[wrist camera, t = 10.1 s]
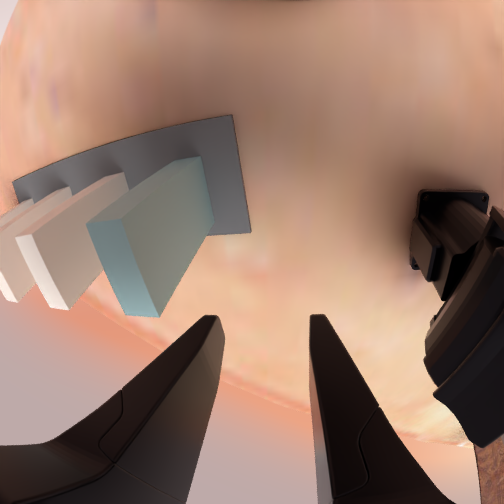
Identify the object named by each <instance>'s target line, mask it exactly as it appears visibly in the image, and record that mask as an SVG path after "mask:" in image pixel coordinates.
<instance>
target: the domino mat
mask: <svg viewBox="0 0 504 504" xmlns="http://www.w3.org/2000/svg"><path fill="white" fill-rule="evenodd" d="M198 156H201V159H202V164H203V169H204V174H205V179H206V184H207V188H208V193H209V198H210V203H211V207H212V212H213V217H214V221H215V223H214V224H213V226H212V227H211V229H210V231H209V232H208V234H207V236H211V235H226V234H242V233H251V225H250V219H249V213H248V207H247V201H246V195H245V189H244V183H243V177H242V171H241V165H240V159H239V153H238V147H237V141H236V135H235V129H234V123H233V117H232V115H227V116H221V117H215V118H210V119H204V120H199V121H194V122H189V123H185V124H180V125H176V126H171V127H167V128H163V129H159V130H155V131H151V132H147V133H143V134H139V135H136V136H132V137H129V138H125V139H122V140H119V141H115V142H112V143H109V144H106V145H103V146H100V147H97V148H94V149H91V150H88V151H85V152H82V153H80V154H77V155H74V156H71V157H69V158H66V159H64V160H61V161H59V162H56V163H54V164H51V165H49V166H46V167H44V168H42V169H39V170H37V171H35V172H32V173H30V174H28V175H26V176H24V177H22V178H19V179H17V180H15V181H13V182H12V183H13V186H14V189H15V192H16V195H17V198H18V201H19V204H20V203H21V202H23V201H25V200H28V199H31V198H32V199H33V202H34V204H35V203H37V202H38V201H40V200H41V199H43V198H44V197H46V196H48V195H49V194H51V193H53V192H54V191H56V190H59V189H62V188H65V187H69V186H70V190H71V193H72V196H74V195H75V194H77V193H78V192H80V191H82V190H83V189H85V188H86V187H88V186H90V185H91V184H93V183H95V182H96V181H98V180H100V179H102V178H103V177H105V176H109V175H113V174H117V173H122V172H124V174H125V178H126V181H127V185H128V188H129V191H130V190H131V189H132V188H134V187H135V186H137V185H138V184H140V183H141V182H142V181H144V180H145V179H147V178H148V177H150V176H151V175H153V174H154V173H156V172H157V171H159V170H160V169H162V168H163V167H165V166H167V165H168V164H170V163H171V162H173V161H174V160H180V159H186V158H192V157H198Z"/></svg>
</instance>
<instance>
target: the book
mask: <svg viewBox="0 0 504 504" xmlns="http://www.w3.org/2000/svg"><path fill="white" fill-rule="evenodd" d="M473 445H474V450H475V456H476V463H477V469H478V477H479V485H480V496H481V504H504V445H503V442H502V438H501V437H500V438H498V439H497V440H495V441H494V442H492V443H491V444H490V445H488V446H487V447H485V448H480V447H478V446H477V445H475V444H474V443H473Z"/></svg>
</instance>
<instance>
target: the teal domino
mask: <svg viewBox="0 0 504 504" xmlns="http://www.w3.org/2000/svg"><path fill="white" fill-rule="evenodd" d="M214 223H215V221H214V217H213V212H212V207H211V203H210V198H209V193H208V188H207V184H206V179H205V174H204V169H203V164H202V159H201V156H198V157H192V158H186V159H180V160H174V161H173V162H171V163H170V164H168V165H167V166H165V167H163V168H162V169H160V170H159V171H157V172H156V173H154V174H153V175H151V176H150V177H148V178H147V179H145V180H144V181H142V182H141V183H140V184H138V185H137V186H135V187H134V188H132V189H131V190H130V191H128V192H127V193H125V194H124V195H123V196H121V197H120V198H118V199H117V200H116V201H114V202H113V203H112V204H110V205H109V206H108V207H106V208H105V209H104V210H102V211H101V212H100V213H98V214H97V215H96V216H95V217H93V218H92V219H91V220H90V221H88V222H87V223H86V227H87V229H88V232H89V235H90V237H91V240H92V242H93V245H94V247H95V250H96V252H97V255H98V257H99V259H100V262H101V264H102V266H103V269H104V271H105V273H106V275H107V278H108V280H109V282H110V284H111V286H112V288H113V290H114V293H115V295H116V297H117V299H118V301H119V303H120V305H121V307H122V309H123V311H124V313H125V315H131V316H144V317H158V318H160V316H161V314H162V312H163V310H164V308H165V307H166V305H167V303H168V301H169V300H170V298H171V296H172V294H173V292H174V291H175V289H176V287H177V285H178V284H179V282H180V280H181V278H182V277H183V275H184V273H185V271H186V270H187V268H188V266H189V264H190V263H191V261H192V259H193V258H194V256H195V254H196V253H197V251H198V249H199V247H200V246H201V244H202V242H203V241H204V239H205V237H206V236H207V234H208V232H209V231H210V229H211V227H212V226H213V224H214Z"/></svg>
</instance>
